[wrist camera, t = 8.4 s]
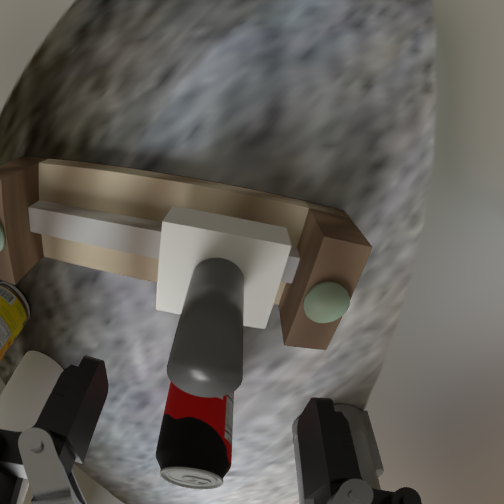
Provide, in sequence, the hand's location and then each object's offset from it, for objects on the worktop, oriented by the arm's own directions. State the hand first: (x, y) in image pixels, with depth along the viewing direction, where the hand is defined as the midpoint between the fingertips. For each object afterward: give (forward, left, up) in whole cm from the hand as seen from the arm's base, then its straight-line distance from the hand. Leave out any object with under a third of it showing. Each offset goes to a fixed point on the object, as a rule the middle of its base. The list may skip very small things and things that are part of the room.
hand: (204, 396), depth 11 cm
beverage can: (0, +16, -14) cm, 21 cm away
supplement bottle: (+22, +12, -14) cm, 29 cm away
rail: (+5, 0, -14) cm, 15 cm away
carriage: (0, 0, -10) cm, 10 cm away
